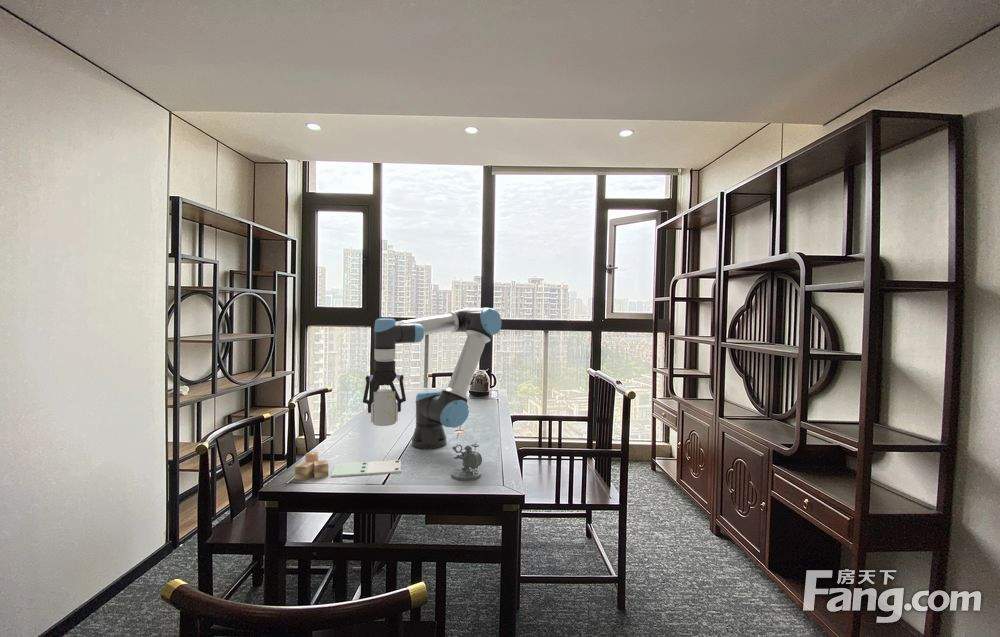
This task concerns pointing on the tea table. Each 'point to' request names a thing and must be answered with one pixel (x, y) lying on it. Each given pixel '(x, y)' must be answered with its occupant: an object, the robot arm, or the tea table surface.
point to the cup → (384, 407)
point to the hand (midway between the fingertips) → (384, 420)
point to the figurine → (467, 464)
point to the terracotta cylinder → (311, 457)
